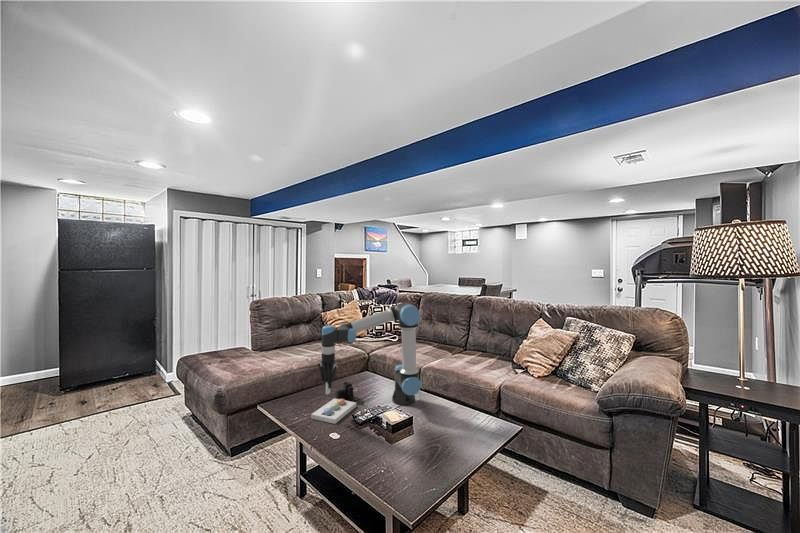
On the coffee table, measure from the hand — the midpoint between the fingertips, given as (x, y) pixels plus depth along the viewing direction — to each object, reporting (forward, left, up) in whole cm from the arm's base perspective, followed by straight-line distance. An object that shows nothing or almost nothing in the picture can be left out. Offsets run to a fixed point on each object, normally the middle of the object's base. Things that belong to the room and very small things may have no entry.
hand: (327, 393), depth 194 cm
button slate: (0, 0, -13) cm, 13 cm away
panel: (0, -7, -14) cm, 16 cm away
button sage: (0, -7, -13) cm, 14 cm away
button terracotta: (0, -14, -13) cm, 19 cm away
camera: (+5, -26, -15) cm, 30 cm away
